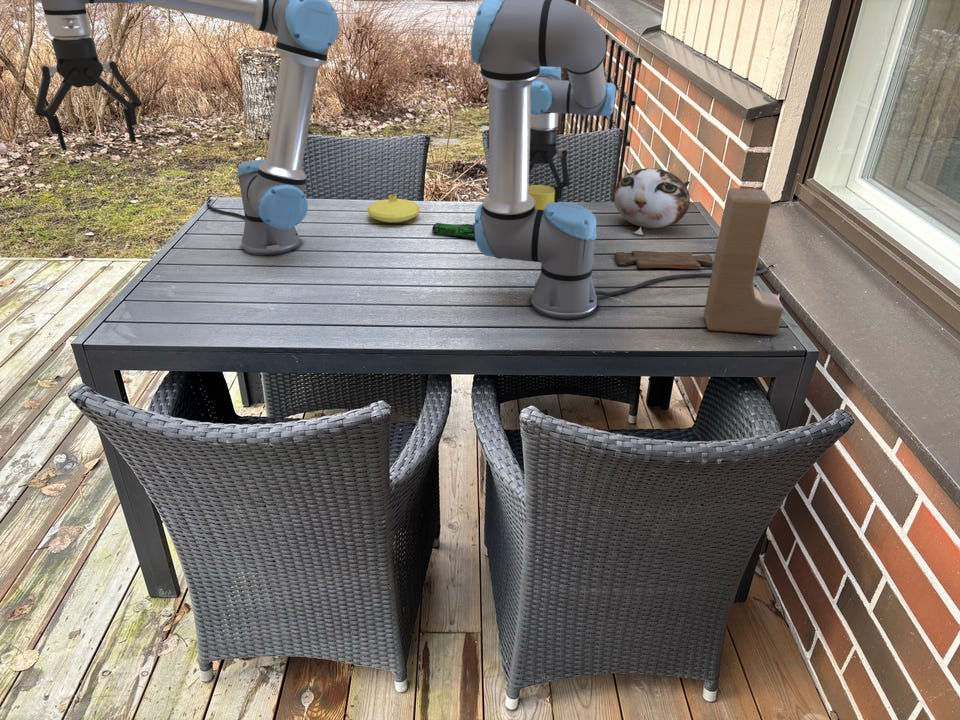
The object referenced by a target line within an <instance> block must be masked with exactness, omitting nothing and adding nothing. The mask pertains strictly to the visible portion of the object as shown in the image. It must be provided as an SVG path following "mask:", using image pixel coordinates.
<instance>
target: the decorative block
mask: <svg viewBox="0 0 960 720" xmlns="http://www.w3.org/2000/svg"><path fill="white" fill-rule="evenodd" d="M771 207H772V200H771V199H770V196H769V195H768V194H767V192H766V191H765V190H764V189H755V188H753V189H752V188H737V187H736V188H735V187H731V188H728V190H727V193H726V198H725V203H724V207H723V213H722V218H721V224H720V227H719V228H720V229H719V234H718V239H717V244H716V249H715V254H714V259H713V265H712V269H711V273H712V274H711V276H710V280H709V285H708V289H707V295H706V301H705V304H704V305H705V306H704V310H703V317H704V318H703V319H704V321H705V324H706V328H707V330H708V331H715V332H727V333H728V332H729V333H743V334H753V335H754V334H756V335H766V336H767V335H768V336H777V335H778V334H779V333H778V332H779V329H780V325H781V322H782V317H783V313H784V310H785V309H784V306H783V304H782V302H781V300H780V297H779V295H778V294H776V293H772V292H767V291H763V290H758V289H757V288H756V287H755V285H754V280H755V276H756V275H755V272H756V271H757V267H758V263H759V259H760V254H761V250H762V246H763V241H764V237H765V233H766V228H767V225H768V220H769V216H770V210H771Z"/></svg>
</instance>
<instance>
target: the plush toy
mask: <svg viewBox="0 0 960 720" xmlns="http://www.w3.org/2000/svg"><path fill="white" fill-rule="evenodd" d="M689 185H690V181H686V182H683V180H681V178H679V176H677V175H675V174H674V173H672V172H669V171H667V170H665V169H661V168H653V167H648V168H647V167H646V168H640V169H636V170H633V171H631V172H626V174H625V176H623V177H621V179H620V180H619V181H618V182H617V184H616V186H615V188H614V191H613V202H614V203H613V204H614V206H615V208H616V211H617V212H618V213H619V215H620V216H621V217H622V218H623V219H624V220H626V221H627V222H629V223H630V224H632V225H634V226H637V227H639V228H638V229H637V230H636V231H634V232H633V234H634V235H640V236H644V233H643V231H642V228H643V229H650V230H651V229H652V230H655V229H664V228H668V227H670V226H673V225H675V224H677V223H678V222H680V221H681V219H683V218H684V217H685V215H686V214H687V212H688V210H689V207H690V204H691V195H690V191H689V189H688V186H689Z"/></svg>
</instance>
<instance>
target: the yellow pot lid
mask: <svg viewBox="0 0 960 720" xmlns="http://www.w3.org/2000/svg"><path fill="white" fill-rule="evenodd" d="M366 211H367V214H368V215H369V217H371V218H372V219H375V220H377V221H380V222H383V223H391V224H392V223H393V224H394V223H402V222H407V221H409V220H411V219H413V218H415V217H417V216H418V215H419V213H420V206H419V205H418V204H417V203H416V202H415V201H411V200H408V199H403V198H398V197H397V194H389V195H388V198H387V199H380V200H376V201H374V202H371V203H370V204H369V205H368V206H367V209H366Z"/></svg>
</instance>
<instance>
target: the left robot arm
mask: <svg viewBox="0 0 960 720" xmlns="http://www.w3.org/2000/svg"><path fill="white" fill-rule="evenodd" d="M40 3H41V6H42V10H43V13H44V18H45V23H46V26H47V30H48V33H49V35H50V36H51V37H53V38H52V40H51V44H52V48H53V53H54V56H55V60H56V65H46V64H41V66H40V71H41V80H40V84H39V88H38V93H37V96H36V101H35V105H34V109H33V110H34V113H35V115H36V116H38V117H44V118H46V121H47V124H48V127H49V131H50V133H51V134H52V135H57V137H58V142H59V144H60V148H61V150H62V151H67V150H68V149H67V145H66V140H65V138H64V134H63V131H62V127H61V123H60V119H59V117H58V116H57V115H56V113H57V111H58V110H59V107H60V106H61V104H62V102H63V101H64V99H65V97H66V96H67V94H68V92H69V91H70V90H71V89H72V87H75V88H78V89H79V88H83V87H89V88H90V87H94V86H95V85H99V86H100V87H101V88H103V89H104V90H105V91H106V92H107V93H108V94H110V95H111V96H112V97H113V98H115V99H116V100H117V101H118V102H119V103H121V104H122V105H123V106H124V107H125V108H123V109H122V112H123V116H124V120H125V124H126V128H127V133H128V137H129V140H130V142H132V143H137V138H136V135H135V130H134V126H137V125H138V120H137V116H136V112H135V110H136V108H138V107H141V106H143V102H142V101H141V99H140V98H139V96H138V95H137V94H136V93H135V91H134V90H133V89H132V87H131V86H130V84H129V83H128V82H127V81H126V80H125V78H124V77H123V76H122V74H121V73H120V70H119V68H118V65H117V63H116V62H115V61H114V60H112V59H109V60H108V61H105V62H100V60H99V57H98V54H97V48H96V45H95V40H94V38H92V37H90V36H91V35H92V29H91V23H90V21H89V17H88V13H87V8H86V4H127V3H128V4H139V5H145V6H151V7H155V8H160V9H164V10H165V9H166V10H171V11H175V12H181V13H188V14H191V15H192V14H193V15H197V16H203V17H208V18H209V17H210V18H214V19H218V20H224V21H229V22H236V23H240V24H245V25H250V27H252V29H253V30H254V31H258V32H264V33H266V34H271V35H274V36H276V41H275V50H276V52H277V53H278V54H279V57H280V63H279V70H278V76H277V82H276V83H277V84H276V90H275V96H274V103H273V110H272V117H271V124H270V131H269V138H268V144H267V151H266V158H265V159H256V160H250V161H246V162H242V163H240V164H239V165H238V166H237V179H238V183H239V190H240V196H241V201H242V208H243V212H244V213H243V214H240V213H237V212H231V211H226V210H221V209H218V208H215V207H213V206H211V205H210V202H211V201H212V199H211V197H207V199H206V207H207V208H208V209H210V210H212V211H214V212H217V213H221V214H225V215H231V216H236V217H239V218H241V219H245V220H244V226H243V228H244V229H243V235H242V237H241V246H242V249H243V251H244V252H246V253H248V254H252V255H255V256H256V255H257V256H275V255H281V254H282V255H283V254H285V253H289V252H291V251H293V250H296V249H297V248H298V247H299V246H300V244H301V241H300V235H299V233H298V231H297V229H296V226H298V225H300V223H302V222H303V221H304V219H305V218H306V216H307V213H308V210H309V202H308V198H307V195H306V194H305V190H306V185H307V179H308V178H307V177H308V176H307V175H306V173H305V172H304V170H303V163H304V158H305V152H306V145H307V140H308V139H307V138H308V134H309V127H310V121H311V116H312V115H311V114H312V110H313V104H314V96H315V91H316V84H317V80H318V73H319V68H321V66H323V65H325V64H327V60H328V55H329V49H330V48H331V46H333V44H335V41H336V40H337V38H338V36H339V29H340V24H339V23H340V22H339V18H338V14H337V12H336V10H335V8H334V7H333V5H332V3H330V1H329V0H40ZM104 70H105V71H106V72H107V73H109V74H112V76H113V77H114V79H115V80H116V81H117V82H118V84H119V85H120V86H121V88H122V89H123V90H124V91H125V93H126V94H127V96H128V97H129V98H130V99H131V101H128V100H127V99H126V98H125V97H124V96H123V95H122V94H120V93H119V92H118V91H116V90H115V89H114V87H112V86H110V85H109V84H108V83H107V82H106V81H105V80H104V79H102V77H101V75H102V72H103V71H104ZM56 73H58V74H59V75H60V76H61V77H62V78H63V79H62V81H61V83H60V85H59V87H58V89H57V90H56V92H55V94H54V96H53V98H52V99H51V100H50V102H49V104H48V106H47V108H46V109H45V106H46V101H47V97H48V93H49V89H50V85H51V79H52V78H54V77H55V74H56ZM209 199H210V200H209ZM208 200H209V201H208ZM207 201H208V202H207ZM208 203H209V204H208Z"/></svg>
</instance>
